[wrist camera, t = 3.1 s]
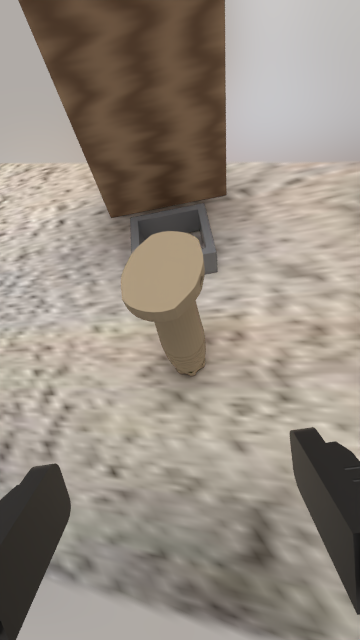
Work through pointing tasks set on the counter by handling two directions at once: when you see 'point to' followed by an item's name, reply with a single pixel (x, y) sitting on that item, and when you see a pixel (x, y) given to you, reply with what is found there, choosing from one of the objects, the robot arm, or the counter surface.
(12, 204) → the counter surface
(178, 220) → the socket
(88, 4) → the wooden l-shaped bracket
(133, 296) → the tan headed rod
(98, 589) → the counter surface
